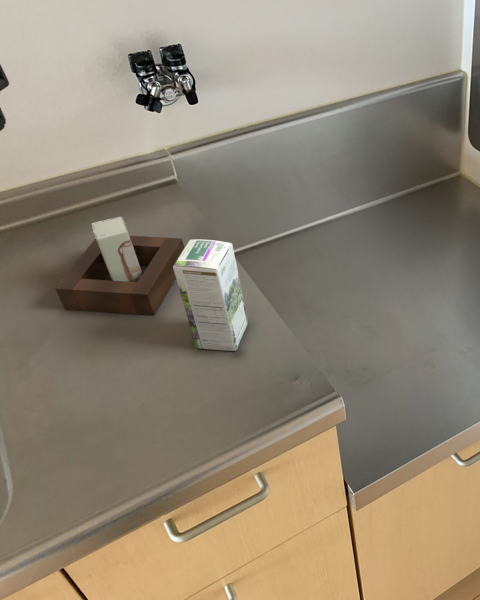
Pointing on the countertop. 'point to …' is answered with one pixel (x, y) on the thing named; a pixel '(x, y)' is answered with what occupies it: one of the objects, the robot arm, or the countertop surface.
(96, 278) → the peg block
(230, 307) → the syrup box
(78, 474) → the countertop surface
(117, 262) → the white product box
